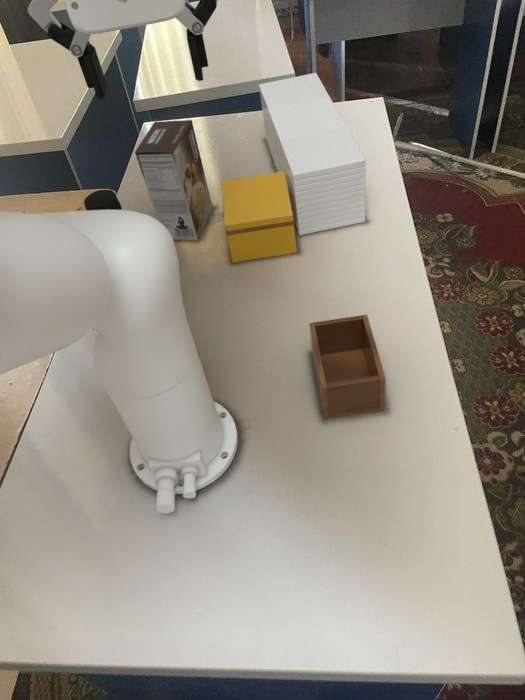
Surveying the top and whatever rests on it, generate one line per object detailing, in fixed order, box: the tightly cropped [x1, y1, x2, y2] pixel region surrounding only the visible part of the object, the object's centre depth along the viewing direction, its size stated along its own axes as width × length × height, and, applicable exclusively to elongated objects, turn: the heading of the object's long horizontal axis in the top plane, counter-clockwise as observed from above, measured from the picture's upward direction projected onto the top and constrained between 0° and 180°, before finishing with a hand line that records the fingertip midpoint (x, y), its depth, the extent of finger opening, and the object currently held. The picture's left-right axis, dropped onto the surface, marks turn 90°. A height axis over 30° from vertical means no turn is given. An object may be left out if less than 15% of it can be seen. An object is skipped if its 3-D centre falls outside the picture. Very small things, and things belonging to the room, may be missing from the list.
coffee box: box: [134, 119, 214, 241], centre depth 90 cm, size 9×6×16 cm
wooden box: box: [308, 314, 386, 420], centre depth 67 cm, size 10×7×6 cm
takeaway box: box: [221, 171, 298, 263], centre depth 89 cm, size 12×10×7 cm
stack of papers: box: [258, 72, 366, 236], centre depth 96 cm, size 32×11×11 cm, turn 9°
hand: (151, 84), depth 55 cm, fingers open, 9 cm apart
